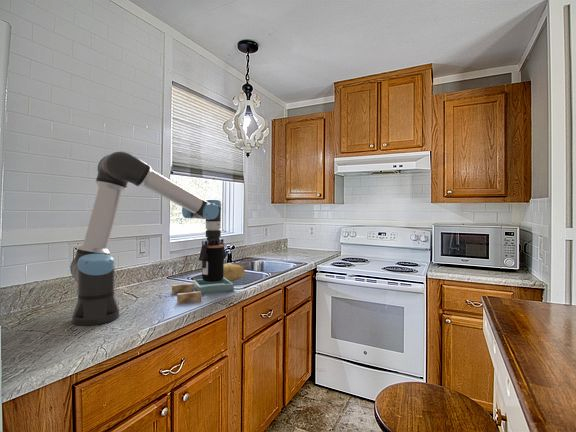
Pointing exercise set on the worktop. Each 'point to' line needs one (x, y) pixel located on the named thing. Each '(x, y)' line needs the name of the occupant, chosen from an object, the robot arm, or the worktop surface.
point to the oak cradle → (186, 293)
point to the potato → (233, 272)
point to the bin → (213, 286)
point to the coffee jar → (214, 263)
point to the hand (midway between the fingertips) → (212, 272)
